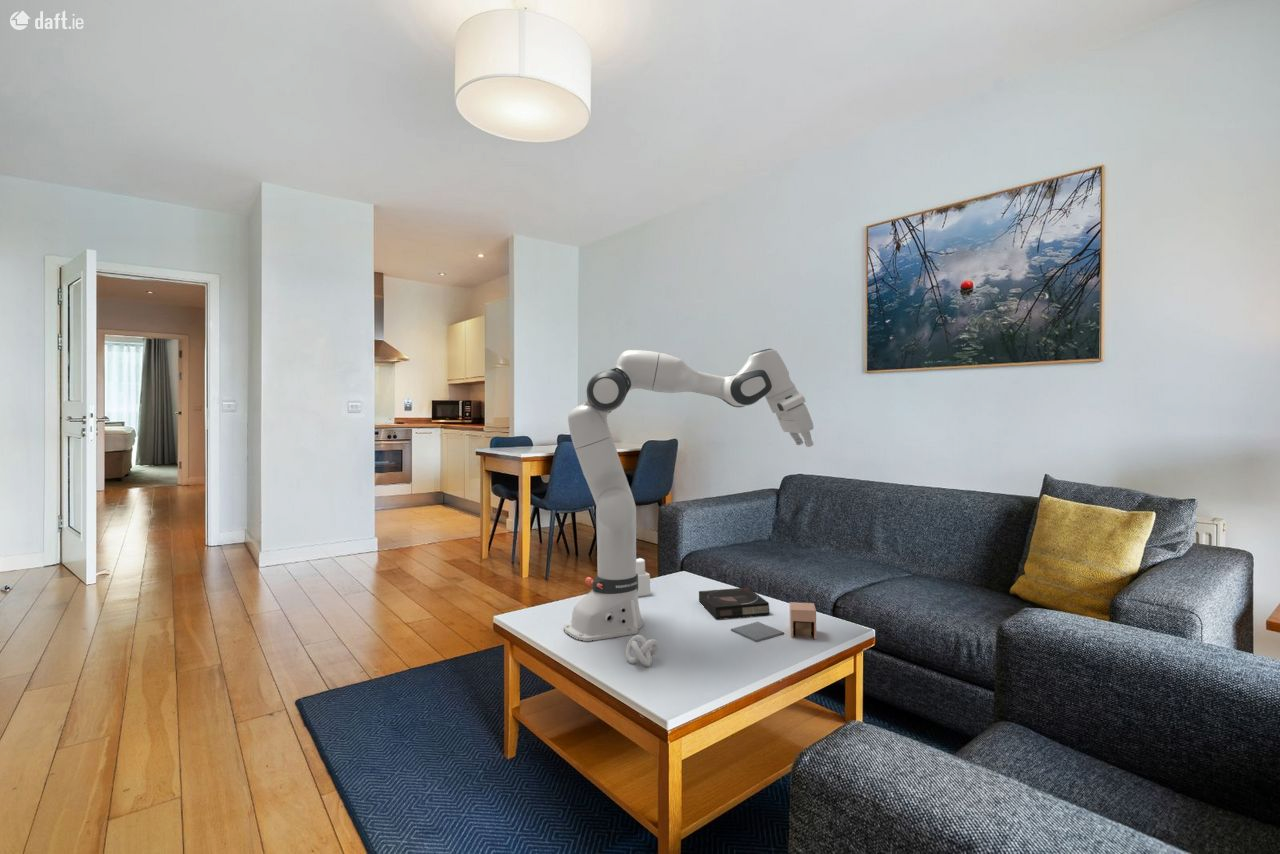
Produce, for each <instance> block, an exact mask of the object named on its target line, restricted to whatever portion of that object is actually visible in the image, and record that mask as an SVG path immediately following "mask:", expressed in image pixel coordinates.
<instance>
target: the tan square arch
mask: <svg viewBox="0 0 1280 854" xmlns="http://www.w3.org/2000/svg"><path fill="white" fill-rule="evenodd" d="M795 621H803V622H811V633H812V636H813V639H814V640H817V609H816V606H815V603H814V602H813V603H812V602H794V601H793V602H792V601H790V602H789V632H790V637H791V639H794V631H795Z"/></svg>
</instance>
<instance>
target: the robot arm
mask: <svg viewBox="0 0 1280 854" xmlns="http://www.w3.org/2000/svg"><path fill="white" fill-rule="evenodd" d="M634 389H639V390H640V389H641V390H645V391H651V392H656V393H664V394H675V393H677V394H678V393H686V392H687V393H689V392H690V393H696V394H699V395H706V396H711V397H716V398H717V399H720V400H722V401H723V402H725V404H728V405H729V406H730V407H734V408H744V407H747V406H752V405H754V404H756V403H757V402H759V401H760V400H761V399H762V398H764V397H765V400H766V402H767V404H768V406H769V408H770V410H771V412H772V414H775V416H776V419H777V420H778V423H779V426H780V427H781V429H782V431H783V432H784V433H789V436H790V437H791V438H792V439H793V441H794V442H795V445H797V446H801V445H803V444H805V446H806V447H807V448H811V447H813V446H814V442H813V440H812V434H811V431H812V430H813V429H814V423H813V420H812V417H811V414H810V412H809V410H808V407H807V405H806V404H805V402H806V397H804V395H803V394H802V393H800V392H799V390H798V389H797V387H796V385H795V384H794V382H793V381H792V380H791V377H790V373H789V370H788V368H787V365H786V363H785V361H784V360H783V359H782V357H781V355H780V354H779V353H778V351H777V350H776V349H774V348H766V349H762V350H758V351H756V352H752V353H751V354H749V357H748V359H747V361H746V362H745V363H744V365H743V366H742V367H741V368H740V370H738V372H737V373H735V374H731V375H727V376H723V375H722V376H721V375H716V374H712V373H707V372H703V371H698V370H695V369H693V368H692V367H691V366H690V365H688V364H687V363H686V362H685V361H684V360H683V359H681V358H680V357H676V356H674V355H671V354H669V353H668V354H667V353H665V352H664V353H663V352H658V351H652V350H644V349H629V350H628V349H627V350H624V351H623V352H622V353H621V354H620V355H619V356H618V359H617V361H616V365H615V367H613V368H609V369H607V370H603V371H600V372H598V373H596V374H595V375H593V376H592V377H591V378H590V379H589V381H588V384H587V386H586V401H585V402H584V403H582V404H580V405H577V406H575V407H574V408H573V409H572V410H571V411H570V413H568V417H567V423H568V428H569V429H568V430H569V434H570V438H571V442H572V445H573V449H574V451H575V453H576V457H577V459H578V463H579V465H580V467H581V468H580V469H581V471H582V474H583V477H584V478H585V481H586V483H587V485H588V488H589V491H590V493H591V495H592V499H593V500H594V503H595V507H596V508H595V523H596V526H595V527H596V546H597V547H596V549H597V550H596V553H597V554H596V559H597V561H596V562H597V564H596V565H597V574H596V576H595V578H592V577H590V576H587V577H586V578H585V581H584V582H585V584H586V585H589V586H591V587H592V588H591V590H590V591H589V592H588V593H587V594H586V595H585V596H584V597H582V598H581V599H580V600H579V601H578V602H577V603H576V604H575V605H574V607H573V609H572V615H571V621H569V622H566V623H564V625H563V631H564V630H565V631H564V632H565V633H566V634H567V633H568V634H569V635H570V636H569V635H568V634H567V635H568V636H569V637H571V636H572V637H571V638H573V637H574V638H573V639H575V638H576V640H578V639H579V640H578V641H581V640H583V641H582V642H592V640H593V641H599V640H604V639H611V638H616V637H617V638H618V637H623V636H630V635H637V634H638V633H639V630H640V629H641V628H642V626H643V625H644V621H643V619H642V615H641V611H640V605H639V597H638V595H637V592H638V574H637V573H636V557H637V507H636V506H637V505H636V502H635V499H634V496H633V492H632V489H631V487H630V485H629V481H628V477H627V475H626V473H625V470H624V467H623V464H622V462H621V458H620V457H619V454H618V450H617V448H616V445H615V442H614V438H613V436H612V433H611V431H610V427H609V424H608V415H609V414H610V413H611V412H613V411H615V410H617V409H619V408H620V407H621V406H622V405H623V403H624V402H625V400H626V397H627V395H628V393H629V391H631V390H634ZM800 434H801V435H800ZM802 438H803V439H802Z"/></svg>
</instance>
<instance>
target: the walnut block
mask: <svg viewBox="0 0 1280 854" xmlns="http://www.w3.org/2000/svg"><path fill="white" fill-rule="evenodd" d="M794 634H795V638H812V631H811V622H803V621H795V630H794Z"/></svg>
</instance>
